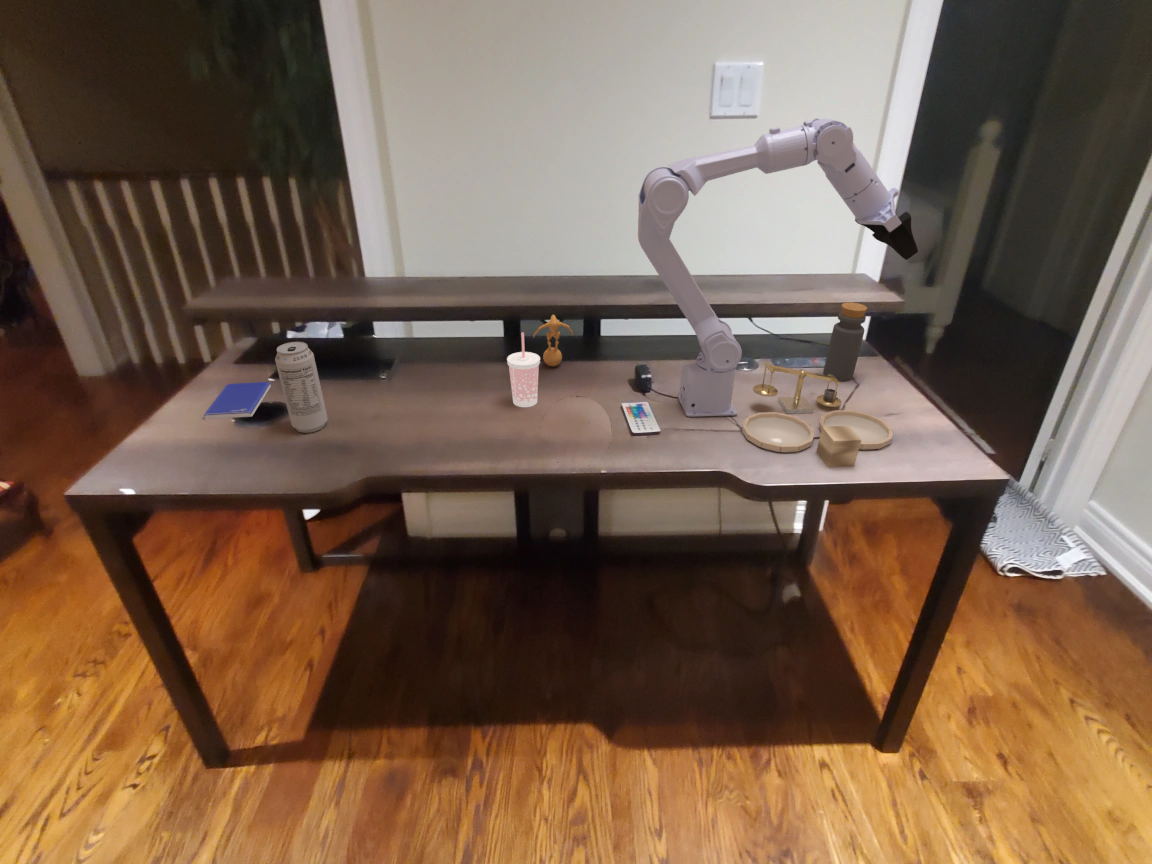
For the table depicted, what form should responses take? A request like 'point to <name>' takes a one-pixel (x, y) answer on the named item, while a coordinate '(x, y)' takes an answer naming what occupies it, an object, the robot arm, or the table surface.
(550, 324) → the figurine
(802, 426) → the left dish
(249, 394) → the hard drive
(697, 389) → the robot arm
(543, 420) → the table surface
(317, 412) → the energy drink can
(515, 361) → the beverage cup
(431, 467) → the table surface
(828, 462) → the maple block
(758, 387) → the balance scale
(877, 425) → the right dish
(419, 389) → the table surface
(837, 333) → the bottle
